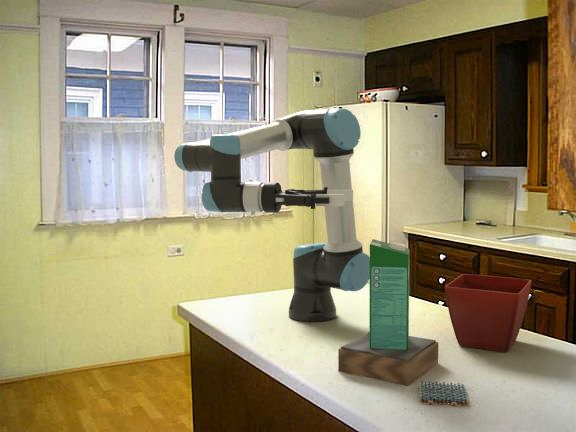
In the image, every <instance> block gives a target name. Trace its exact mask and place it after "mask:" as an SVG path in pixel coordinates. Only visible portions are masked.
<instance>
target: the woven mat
mask: <svg viewBox="0 0 576 432" xmlns="http://www.w3.org/2000/svg"><path fill="white" fill-rule="evenodd" d="M418 388H419V389H418V392H419V394H418V398H419V399H418V401H419V402H420V405H430V406H431V405H433V406H446V405H450V406H453V407H464V406H469V407H470V402H469V401H470V399H469V397H468V396H469V395H468V392H467V388H466V385H464V384H460V382H457V383H454V384H453V382H450V384H449V383H446V382H445V381H443V382H442V383H439V382H438V381H436V382H432V383H431V381H428V383H427V382H423V381H422V380H421V381H420V383H419V384H418ZM447 401H448V402H447ZM448 403H449V404H448ZM450 406H449V407H450Z"/></svg>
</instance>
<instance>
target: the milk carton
mask: <svg viewBox="0 0 576 432" xmlns="http://www.w3.org/2000/svg"><path fill="white" fill-rule="evenodd" d="M369 257H370V279H369V326H368V327H369V331H368V333H369V348H376V349H397V350H408V343H409V336H410V332H409V331H410V248H409V247H407V245H406V244H404V243H401V242H398V241H390V242H385V241H381V240H378V239H375V238H374V239H372V240H371V242H370V244H369Z"/></svg>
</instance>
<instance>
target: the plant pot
mask: <svg viewBox="0 0 576 432" xmlns="http://www.w3.org/2000/svg"><path fill="white" fill-rule="evenodd" d="M531 287H532V280H531V279H525V278H518V277H517V278H516V277H515V278H514V277H506V276H505V277H504V276H494V275H484V274H483V275H481V274H471V273H462V274H460V275H459V276H457V277H456V278H454V279H453V280H452V281H450V282H448V283H447V284H445V285H444V289H445V298H446V304H447V309H448V314H449V317H450V318H449V319H450V322H451V326H452V329H453V332H454V334H455V335H454V336H455V338H456V341H457V343H458V345H459V346H460V347H465V348H472V349H479V350H486V351H494V352H499V353H500V352H501V353H507V352H509V351H510V349H511V347H512V346H513V345H514V344H515V342H516V340H517V339H518V335H519V333H520V330H521V328H522V327H521V326H522V325H523V324H522V323H523V321H524V318H525V314H526V310H527V308H528V307H527V306H528V303H529V298H530V293H531Z"/></svg>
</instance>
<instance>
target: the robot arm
mask: <svg viewBox="0 0 576 432" xmlns="http://www.w3.org/2000/svg"><path fill="white" fill-rule="evenodd" d="M361 131H362V130H361V127H360V123H359V121H358V118H357V116H356V115H355V114H354V113H353V112H352V111H351V110H349V109H346V108H340V107H332V108H331V107H330V108H321V109H320V108H319V109H307V110H302V111H299V112H295V113H292V114H289V115H286V116H283V117H280V118H276V119H274V120H272V122H271V123H270V124H266V125H261V126H257V127H253V128H248V129H244V130H240V131H235V132H231V133H228V134H212V135H211V136H210V138H209V139H208V138H207V139H203V140H200V141H195V142H190V141H189V142H184V143H182V144H179V145H178V146H177V147H176V149H175V151H174V154H173V155H174V156H173V158H174V162H175V165H176V166H177V167H178V168H179V170H182V171H185V172H186V171H187V172H190V173H193V172H203V173H204V172H205V173H207V172H209V173H210V177H211V178H210V181H209V182H205V183H204V184H203V186H202V193H201V202H202V206H203V208H204V209H205V210H206V211H208V212H213V213H214V212H218V213H250V215H256V213H263V212H264V213H269V214H270V213H272V214H273V213H279V212H280V210H281V208H282V206H284V207H291V206H292V207H296V206H297V207H306V208H309V207H310V209H311V210H316V207H323V208H324V216H325V226H326V227H325V228H326V236H327V237H326V238H327V242H317V243H316V242H315V243H307V244H301V245H297V246H295V247H294V249H293V257H292V261H293V262H292V265H293V266H292V267H293V293H292V294H293V295H292V297H291V301H290V304H289V307H288V317H289V318H290V319H292V320H295V321H301V322H325V321H329V320H332V319H335V318H336V317H337V306H336V305H335V300H334V298H333V295H332V292H331V291H332V289H336V290H341V291H343V292H359V291H361V290H362V289H364V287H366V286H367V284H369V281H370V255H368V254H367V253H366V252H365V253H364V251H363V244H362V242H361V241H359V240H358V238H357V231H356V230H357V229H356V219H355V217H356V216H355V210H354V209H355V206H354V189H353V187H352V177H351V174H352V173H351V166H350V165H351V164H350V159H351V158H352V157H353V156H354V153H355V151H354V148H356V147H357V146H358V144H359V143H360V141H359V140H360V139H361ZM277 150H279V151H280V152H281V151H282V152H284V151H288V150H313V151H312V152H313V158H314V160H317V161H318V162H319V167H320V176H321V177H320V179H321V187H322V189H294V188H287V189H285V190H284V191H283V190H282V186H281V184H280V182H276V181H272V182H271V181H267V182H262V181H246V182H243V181H242V168H241V167H242V163H241V162H242V160H243V159H246V158H250V157H253V156H257V155H261V154H264V153H269V152H272V151H277Z"/></svg>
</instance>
